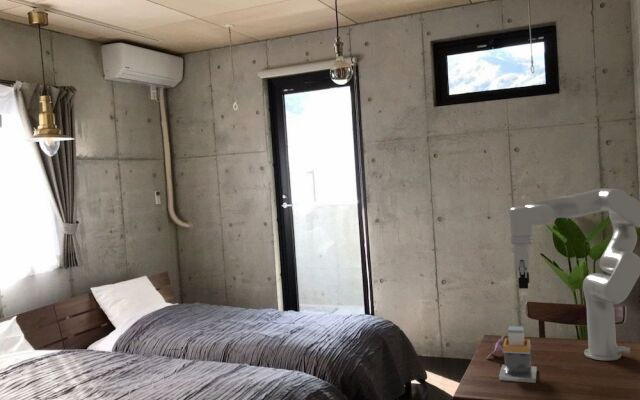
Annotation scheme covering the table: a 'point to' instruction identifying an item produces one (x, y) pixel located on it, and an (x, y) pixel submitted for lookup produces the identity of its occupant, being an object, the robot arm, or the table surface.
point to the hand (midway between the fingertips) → (524, 285)
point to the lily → (498, 345)
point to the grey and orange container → (517, 363)
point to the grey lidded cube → (516, 335)
